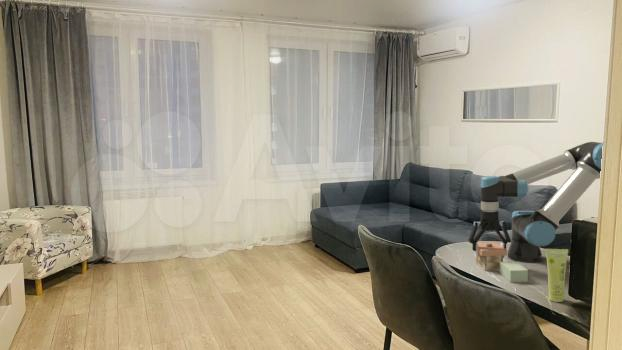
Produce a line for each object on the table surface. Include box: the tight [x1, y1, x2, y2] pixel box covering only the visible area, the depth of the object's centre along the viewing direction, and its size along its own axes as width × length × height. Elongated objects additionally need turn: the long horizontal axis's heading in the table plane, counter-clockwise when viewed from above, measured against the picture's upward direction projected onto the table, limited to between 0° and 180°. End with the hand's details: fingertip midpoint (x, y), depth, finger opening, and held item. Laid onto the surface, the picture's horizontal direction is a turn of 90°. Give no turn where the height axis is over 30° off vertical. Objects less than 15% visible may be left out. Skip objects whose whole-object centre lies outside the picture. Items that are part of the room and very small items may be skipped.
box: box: [475, 253, 504, 272], centre depth 209 cm, size 8×12×7 cm, turn 178°
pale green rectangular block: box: [499, 260, 529, 283], centre depth 194 cm, size 7×12×5 cm, turn 178°
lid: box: [477, 241, 508, 257], centre depth 208 cm, size 11×13×4 cm
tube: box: [544, 248, 569, 303], centre depth 167 cm, size 6×5×20 cm
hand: (489, 257), depth 208 cm, fingers closed on lid, 11 cm apart
